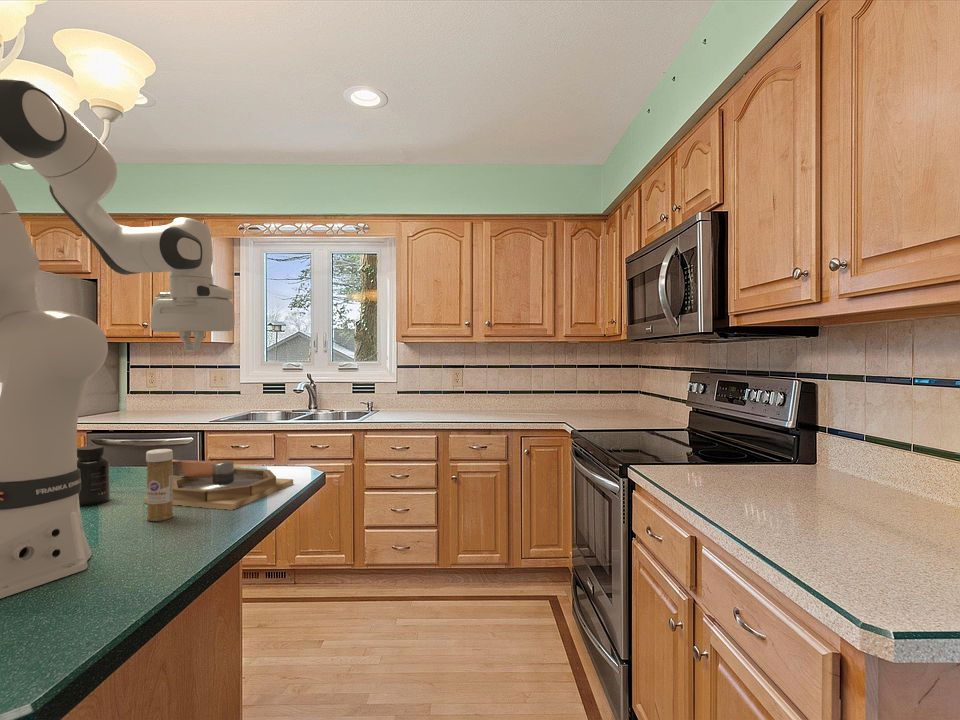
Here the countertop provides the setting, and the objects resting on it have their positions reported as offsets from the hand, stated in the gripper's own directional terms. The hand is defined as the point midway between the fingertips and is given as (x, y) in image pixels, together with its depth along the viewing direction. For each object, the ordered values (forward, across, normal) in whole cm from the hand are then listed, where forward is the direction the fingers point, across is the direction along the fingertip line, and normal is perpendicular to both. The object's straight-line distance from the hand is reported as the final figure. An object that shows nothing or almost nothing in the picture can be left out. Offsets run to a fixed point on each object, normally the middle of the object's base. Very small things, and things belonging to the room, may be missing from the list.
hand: (192, 351), depth 127 cm
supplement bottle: (+33, -16, -12) cm, 38 cm away
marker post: (+33, -7, +1) cm, 33 cm away
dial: (+31, +5, +1) cm, 32 cm away
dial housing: (+33, +7, +1) cm, 33 cm away
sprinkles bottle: (+33, +8, -18) cm, 38 cm away
